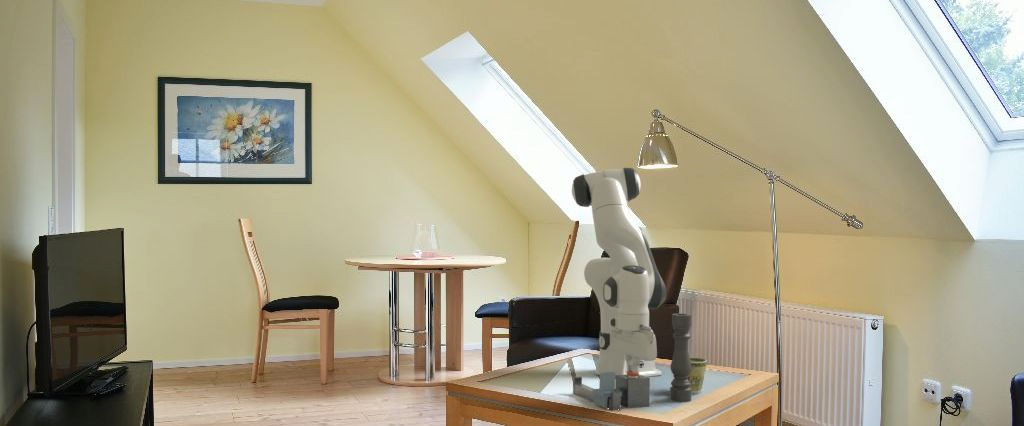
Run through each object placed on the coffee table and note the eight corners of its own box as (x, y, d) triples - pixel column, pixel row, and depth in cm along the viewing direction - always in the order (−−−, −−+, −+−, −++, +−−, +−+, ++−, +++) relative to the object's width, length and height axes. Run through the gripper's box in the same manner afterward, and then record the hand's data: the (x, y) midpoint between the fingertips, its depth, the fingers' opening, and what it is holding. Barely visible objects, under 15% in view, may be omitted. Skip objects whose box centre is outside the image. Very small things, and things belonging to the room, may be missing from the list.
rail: (580, 393, 268) (580, 376, 268) (620, 410, 246) (620, 392, 246) (573, 393, 267) (573, 376, 267) (612, 410, 245) (613, 392, 245)
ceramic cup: (699, 397, 265) (700, 363, 265) (668, 392, 270) (668, 359, 270) (714, 389, 276) (714, 357, 276) (683, 386, 281) (684, 354, 281)
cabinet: (636, 401, 258) (636, 373, 258) (649, 406, 251) (649, 378, 251) (615, 402, 255) (615, 375, 255) (627, 408, 248) (628, 379, 248)
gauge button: (634, 390, 255) (634, 370, 255) (640, 392, 252) (641, 372, 252) (624, 391, 254) (624, 371, 254) (630, 393, 251) (630, 373, 251)
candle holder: (667, 397, 263) (668, 313, 263) (687, 397, 264) (689, 313, 264) (673, 402, 257) (674, 315, 257) (693, 401, 258) (695, 315, 258)
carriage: (610, 401, 254) (611, 370, 254) (621, 406, 249) (621, 374, 249) (592, 403, 252) (592, 371, 252) (602, 407, 246) (603, 375, 246)
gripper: (662, 327, 244) (662, 377, 245) (625, 318, 263) (624, 364, 263) (643, 328, 242) (642, 379, 242) (606, 319, 261) (605, 366, 261)
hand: (632, 371), depth 253 cm, fingers closed, pressing on gauge button
